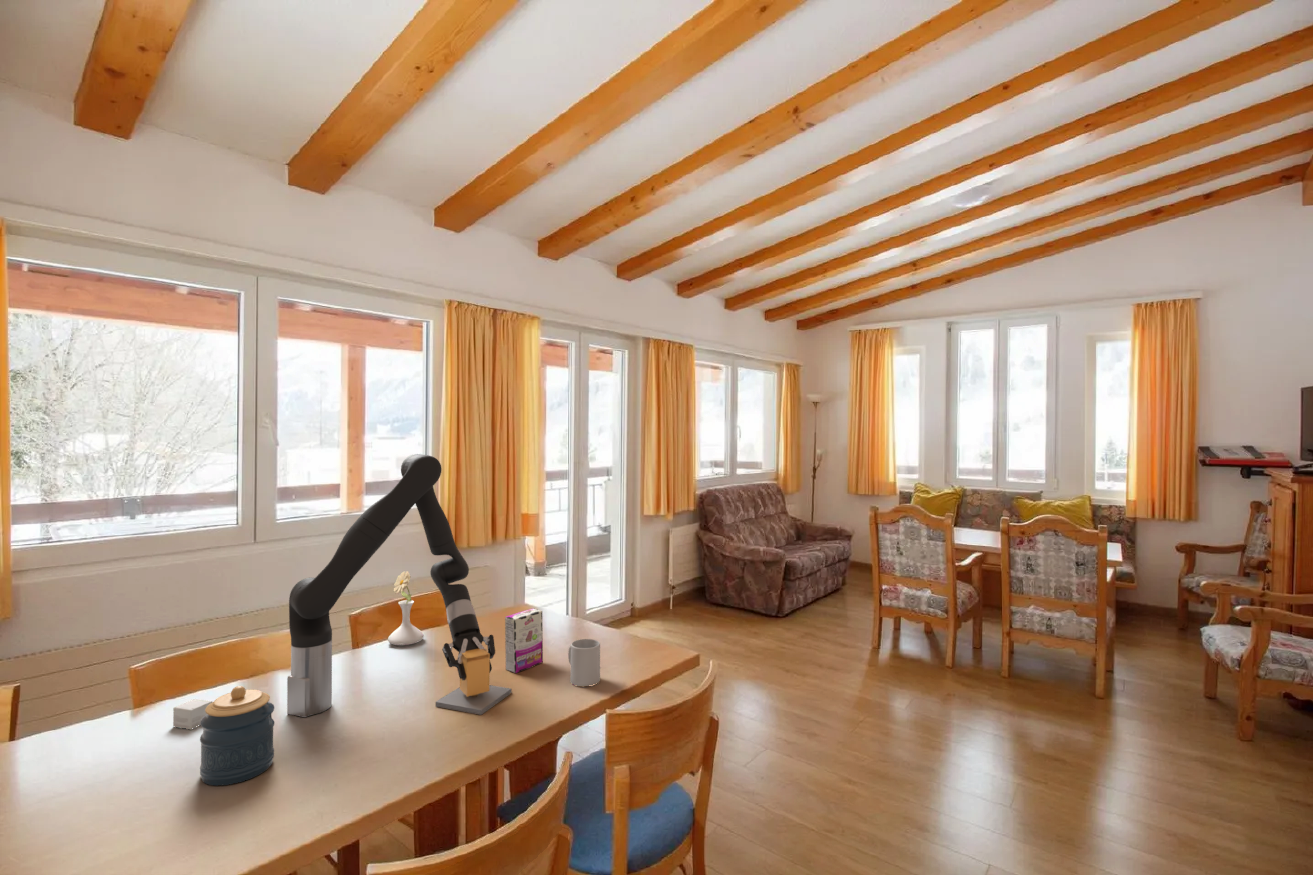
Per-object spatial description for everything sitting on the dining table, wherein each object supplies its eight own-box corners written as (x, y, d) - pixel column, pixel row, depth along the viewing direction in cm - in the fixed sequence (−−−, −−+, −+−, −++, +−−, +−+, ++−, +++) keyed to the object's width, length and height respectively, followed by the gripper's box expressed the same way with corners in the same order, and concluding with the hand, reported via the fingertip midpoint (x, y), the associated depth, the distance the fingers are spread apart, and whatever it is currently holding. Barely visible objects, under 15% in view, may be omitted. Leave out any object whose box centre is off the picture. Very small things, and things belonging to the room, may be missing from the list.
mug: (606, 681, 177) (606, 643, 177) (582, 690, 172) (582, 650, 171) (580, 669, 186) (581, 633, 186) (557, 677, 180) (557, 640, 180)
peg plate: (481, 714, 156) (481, 690, 156) (435, 706, 161) (435, 682, 161) (511, 692, 169) (511, 670, 169) (468, 685, 174) (468, 663, 174)
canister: (261, 747, 139) (261, 669, 139) (283, 767, 131) (284, 685, 131) (191, 771, 129) (191, 687, 129) (210, 795, 121) (211, 705, 121)
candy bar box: (532, 659, 194) (532, 607, 194) (543, 662, 191) (543, 610, 191) (504, 669, 186) (504, 615, 185) (514, 674, 183) (515, 618, 182)
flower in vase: (387, 639, 212) (387, 567, 211) (422, 635, 216) (423, 564, 216) (388, 652, 200) (388, 575, 199) (425, 647, 204) (426, 572, 204)
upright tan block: (489, 690, 164) (489, 653, 164) (467, 696, 161) (467, 658, 161) (481, 683, 169) (481, 647, 169) (459, 688, 166) (459, 651, 165)
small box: (213, 720, 152) (213, 700, 152) (190, 730, 147) (190, 710, 147) (195, 717, 154) (195, 697, 154) (172, 727, 148) (172, 707, 148)
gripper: (439, 617, 167) (453, 675, 157) (490, 608, 175) (506, 663, 165) (433, 631, 171) (446, 689, 161) (483, 622, 179) (499, 676, 170)
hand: (476, 675), depth 163 cm, fingers closed on upright tan block, 5 cm apart
